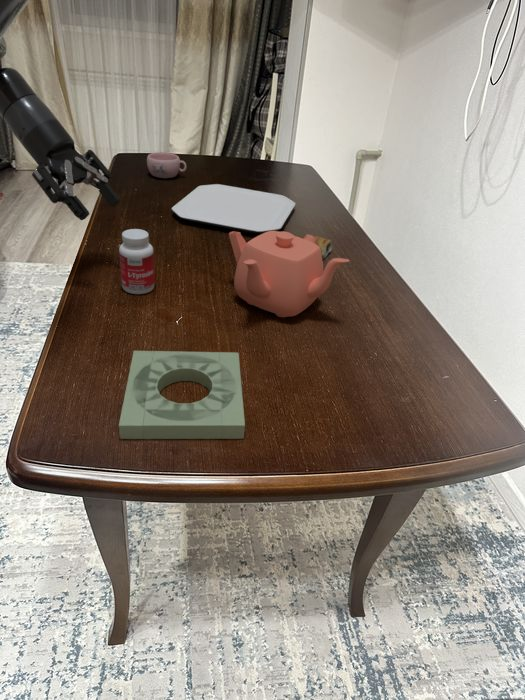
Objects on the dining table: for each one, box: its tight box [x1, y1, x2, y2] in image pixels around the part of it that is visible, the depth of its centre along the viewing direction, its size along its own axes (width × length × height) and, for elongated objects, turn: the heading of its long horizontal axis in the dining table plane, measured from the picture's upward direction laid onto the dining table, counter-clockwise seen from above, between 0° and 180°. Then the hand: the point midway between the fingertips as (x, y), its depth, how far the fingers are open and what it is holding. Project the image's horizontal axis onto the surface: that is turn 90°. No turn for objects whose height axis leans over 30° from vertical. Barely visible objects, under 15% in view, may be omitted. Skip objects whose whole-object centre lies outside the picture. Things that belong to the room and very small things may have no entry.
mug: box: [146, 151, 187, 179], centre depth 150 cm, size 12×10×6 cm
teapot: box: [228, 230, 350, 318], centre depth 91 cm, size 18×18×14 cm
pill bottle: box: [118, 228, 155, 295], centre depth 92 cm, size 6×6×11 cm
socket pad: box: [118, 350, 246, 440], centre depth 70 cm, size 16×16×2 cm
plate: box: [171, 183, 296, 234], centre depth 131 cm, size 29×29×2 cm
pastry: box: [299, 235, 333, 260], centre depth 115 cm, size 9×7×4 cm
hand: (101, 210), depth 89 cm, fingers open, 8 cm apart
